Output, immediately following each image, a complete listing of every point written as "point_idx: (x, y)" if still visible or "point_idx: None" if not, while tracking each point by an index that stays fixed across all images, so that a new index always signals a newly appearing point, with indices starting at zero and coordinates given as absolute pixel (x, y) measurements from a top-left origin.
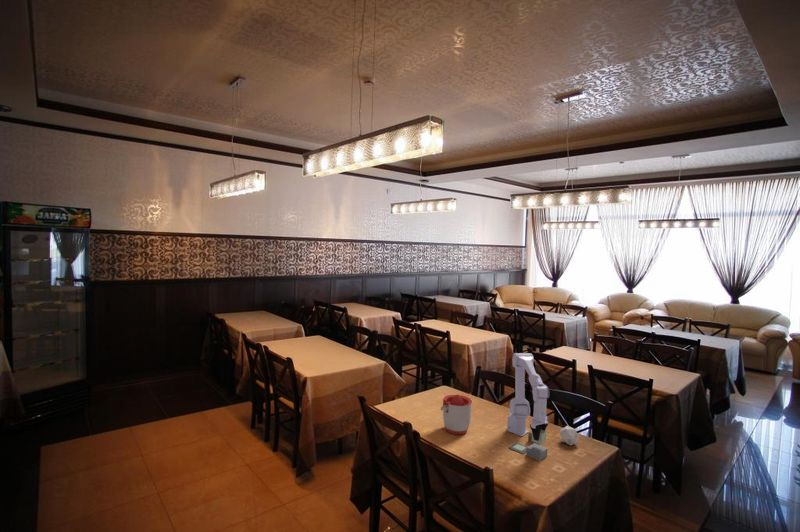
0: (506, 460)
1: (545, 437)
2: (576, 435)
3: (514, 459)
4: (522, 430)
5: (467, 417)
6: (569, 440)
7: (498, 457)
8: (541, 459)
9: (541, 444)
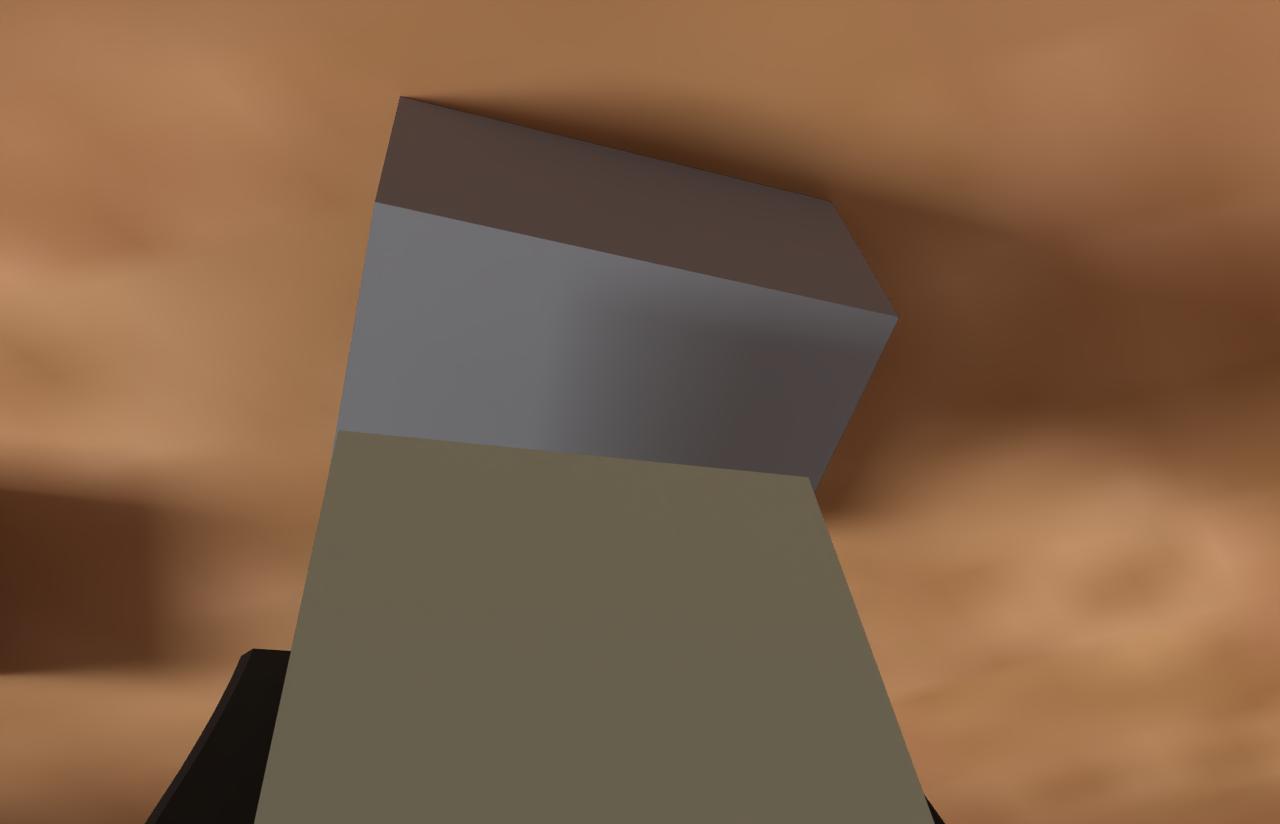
0: (1138, 700)
1: (377, 580)
2: None
3: (1037, 625)
4: None
5: None
6: None
7: (1081, 804)
8: (749, 186)
9: (806, 484)
